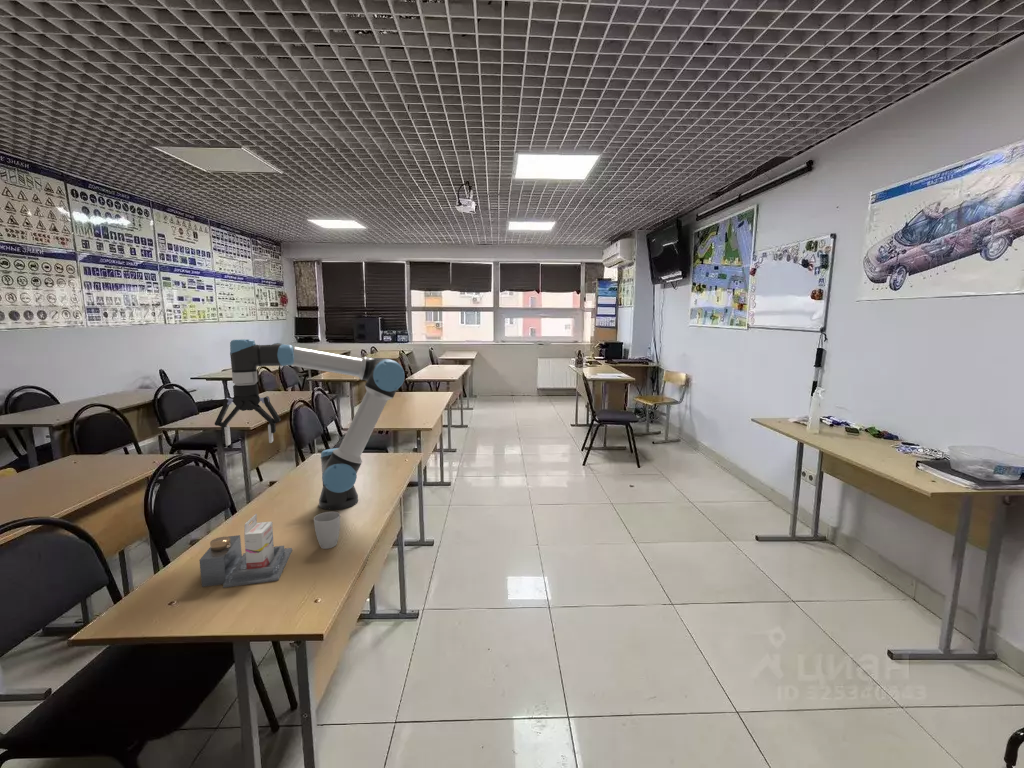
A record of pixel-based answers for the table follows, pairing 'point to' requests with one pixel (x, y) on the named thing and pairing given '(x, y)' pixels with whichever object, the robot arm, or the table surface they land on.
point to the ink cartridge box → (258, 543)
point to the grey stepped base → (237, 564)
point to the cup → (327, 529)
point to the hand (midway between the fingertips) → (250, 443)
